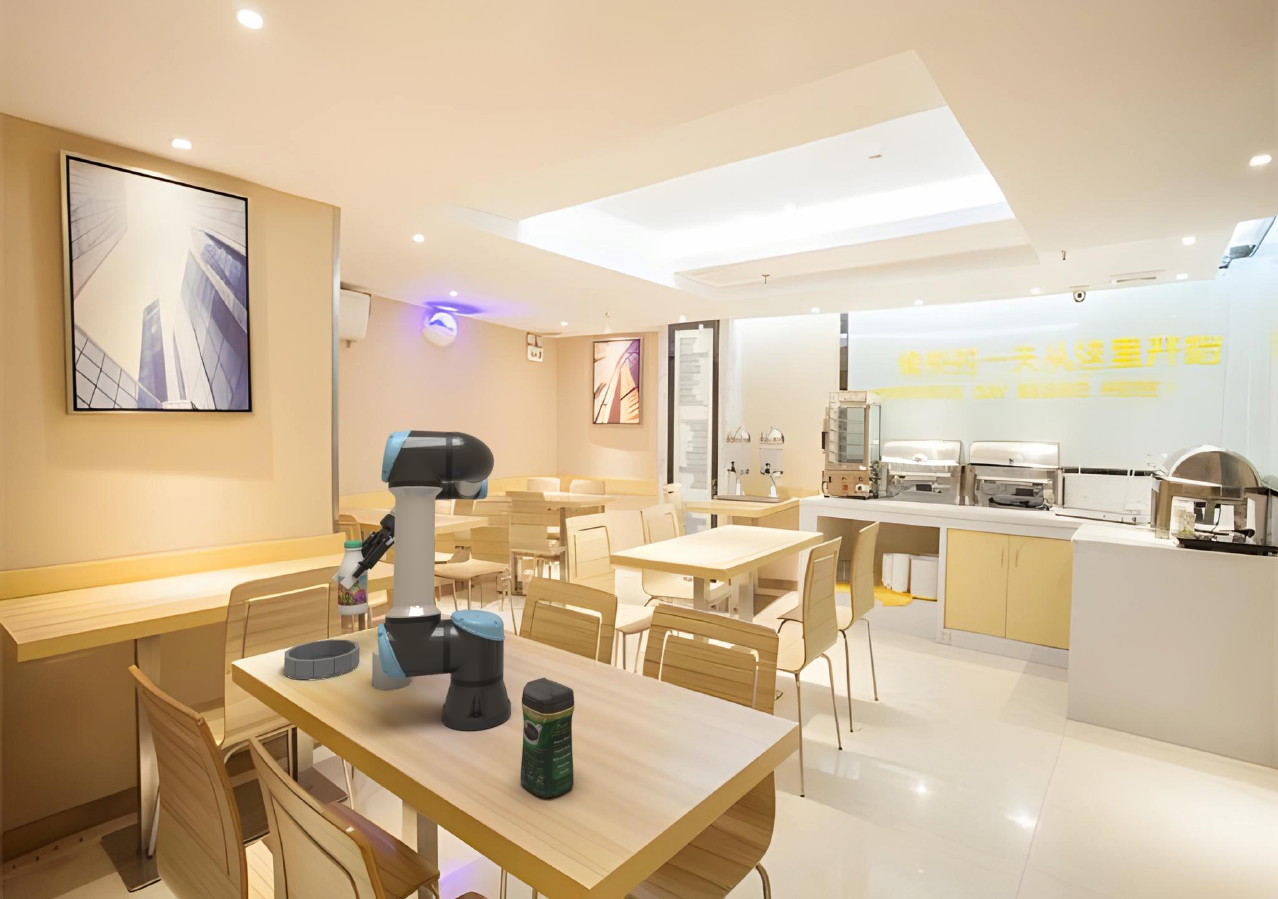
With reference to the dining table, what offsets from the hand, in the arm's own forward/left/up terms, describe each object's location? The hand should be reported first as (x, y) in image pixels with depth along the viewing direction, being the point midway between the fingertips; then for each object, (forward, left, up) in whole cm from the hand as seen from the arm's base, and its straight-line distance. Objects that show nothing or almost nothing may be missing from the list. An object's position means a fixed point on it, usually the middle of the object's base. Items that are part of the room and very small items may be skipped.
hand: (339, 583), depth 177 cm
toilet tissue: (-23, 0, -22) cm, 32 cm away
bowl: (0, +5, -22) cm, 23 cm away
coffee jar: (-89, +18, -22) cm, 93 cm away
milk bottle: (-1, -3, -9) cm, 9 cm away
